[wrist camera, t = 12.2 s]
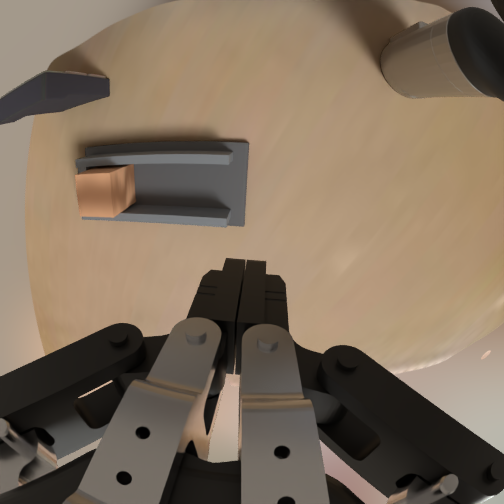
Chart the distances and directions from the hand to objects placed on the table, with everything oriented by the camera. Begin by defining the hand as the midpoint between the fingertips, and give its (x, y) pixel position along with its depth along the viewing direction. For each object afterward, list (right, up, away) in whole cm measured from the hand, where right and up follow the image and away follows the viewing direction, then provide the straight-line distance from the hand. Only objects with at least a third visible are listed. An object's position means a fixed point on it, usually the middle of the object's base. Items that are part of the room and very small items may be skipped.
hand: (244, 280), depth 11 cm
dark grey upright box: (-26, +26, +21) cm, 43 cm away
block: (-20, +12, +27) cm, 36 cm away
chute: (-13, +11, +28) cm, 33 cm away
